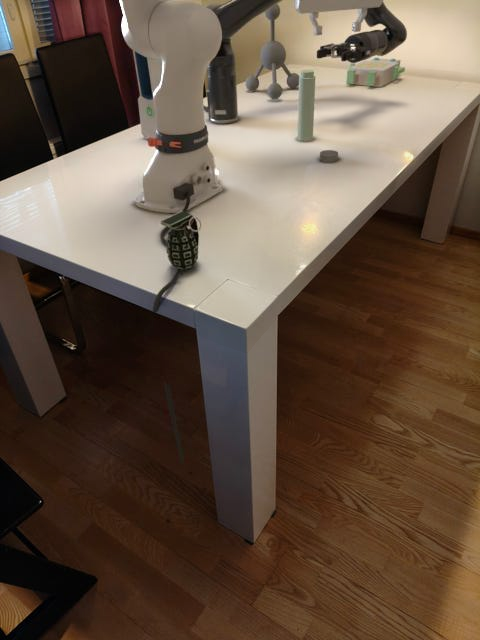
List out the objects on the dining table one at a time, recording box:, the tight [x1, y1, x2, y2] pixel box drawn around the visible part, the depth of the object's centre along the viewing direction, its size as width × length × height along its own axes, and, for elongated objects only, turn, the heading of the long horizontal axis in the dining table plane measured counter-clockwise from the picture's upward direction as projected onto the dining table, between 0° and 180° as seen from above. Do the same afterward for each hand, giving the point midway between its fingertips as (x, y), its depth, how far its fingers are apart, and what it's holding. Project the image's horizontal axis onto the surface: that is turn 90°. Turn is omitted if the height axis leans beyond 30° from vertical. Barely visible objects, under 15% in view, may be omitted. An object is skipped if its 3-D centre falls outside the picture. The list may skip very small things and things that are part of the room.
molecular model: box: [245, 3, 300, 100], centre depth 182 cm, size 24×22×30 cm
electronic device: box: [132, 50, 162, 140], centre depth 143 cm, size 12×8×30 cm, turn 47°
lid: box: [319, 149, 339, 163], centre depth 131 cm, size 5×5×2 cm
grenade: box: [159, 211, 202, 271], centre depth 88 cm, size 7×6×10 cm
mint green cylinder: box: [297, 69, 316, 143], centre depth 140 cm, size 4×4×18 cm
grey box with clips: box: [346, 57, 406, 88], centre depth 197 cm, size 26×6×20 cm
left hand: (337, 33), depth 113 cm, fingers open, 8 cm apart
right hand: (330, 55), depth 139 cm, fingers open, 8 cm apart
